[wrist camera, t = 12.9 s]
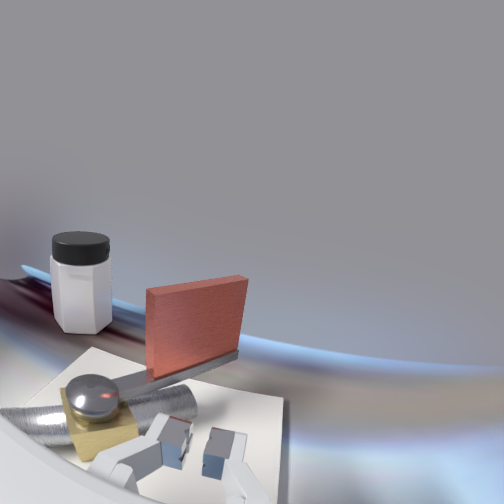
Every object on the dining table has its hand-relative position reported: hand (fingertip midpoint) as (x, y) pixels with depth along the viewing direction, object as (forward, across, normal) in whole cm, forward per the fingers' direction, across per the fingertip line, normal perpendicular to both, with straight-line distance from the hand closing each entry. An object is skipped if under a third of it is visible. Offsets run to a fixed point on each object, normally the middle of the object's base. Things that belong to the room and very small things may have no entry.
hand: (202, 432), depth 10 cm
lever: (+9, -5, -6) cm, 12 cm away
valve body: (+4, -9, -10) cm, 14 cm away
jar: (+21, -23, -11) cm, 33 cm away
